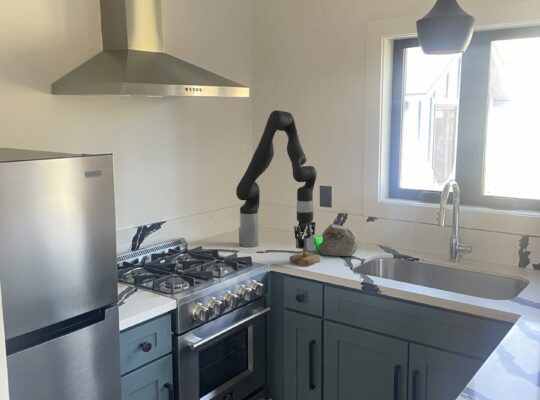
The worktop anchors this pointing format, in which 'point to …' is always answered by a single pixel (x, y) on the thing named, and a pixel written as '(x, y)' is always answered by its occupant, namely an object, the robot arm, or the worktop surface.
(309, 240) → the link
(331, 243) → the stone
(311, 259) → the keeper
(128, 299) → the worktop surface
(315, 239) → the bracket
